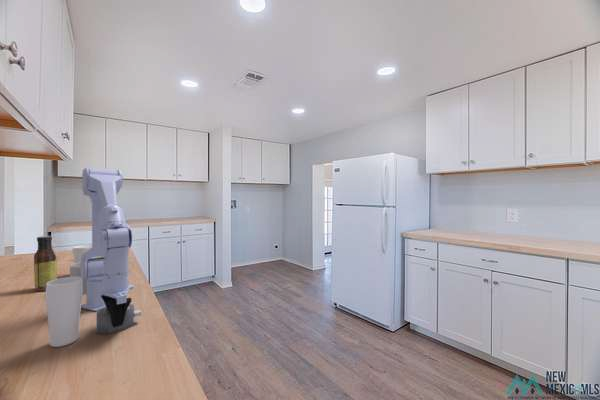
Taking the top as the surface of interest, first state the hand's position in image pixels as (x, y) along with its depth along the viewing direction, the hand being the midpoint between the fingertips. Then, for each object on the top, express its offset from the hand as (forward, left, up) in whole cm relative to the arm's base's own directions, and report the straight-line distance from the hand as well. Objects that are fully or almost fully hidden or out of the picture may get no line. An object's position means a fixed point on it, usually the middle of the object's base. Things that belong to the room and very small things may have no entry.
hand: (115, 322), depth 73 cm
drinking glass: (+10, -4, -2) cm, 11 cm away
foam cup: (-28, -59, -2) cm, 65 cm away
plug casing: (0, 0, -1) cm, 1 cm away
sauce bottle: (-11, -54, -2) cm, 55 cm away
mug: (-16, -38, -2) cm, 41 cm away
